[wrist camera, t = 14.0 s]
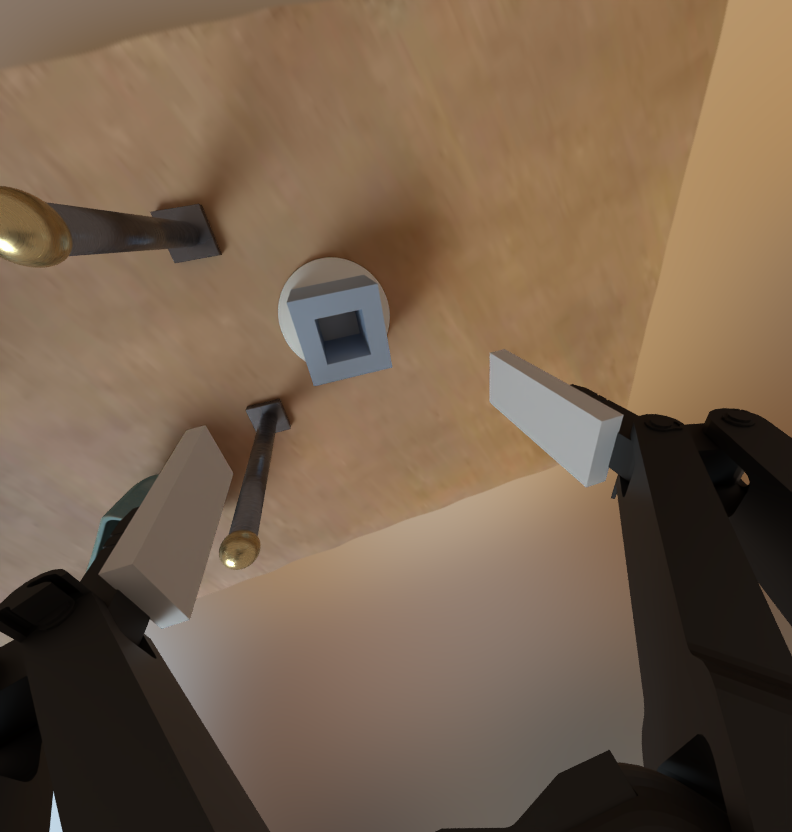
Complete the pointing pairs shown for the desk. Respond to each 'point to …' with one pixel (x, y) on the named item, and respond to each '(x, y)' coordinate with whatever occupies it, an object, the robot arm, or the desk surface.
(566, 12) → the desk surface
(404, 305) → the desk surface
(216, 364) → the desk surface
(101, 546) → the flower pot
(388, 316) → the white round disc
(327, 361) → the hollow square tube
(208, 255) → the gold-tipped post pair
